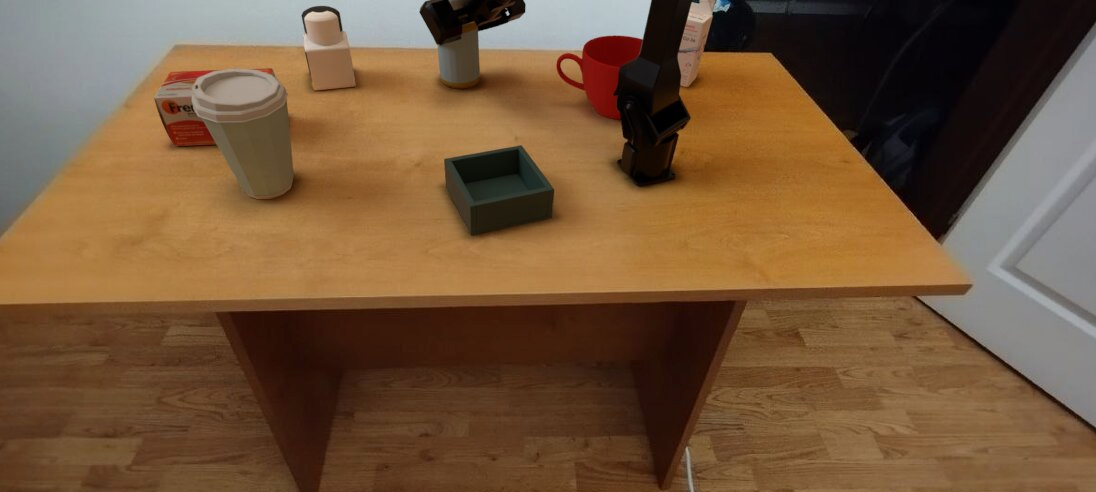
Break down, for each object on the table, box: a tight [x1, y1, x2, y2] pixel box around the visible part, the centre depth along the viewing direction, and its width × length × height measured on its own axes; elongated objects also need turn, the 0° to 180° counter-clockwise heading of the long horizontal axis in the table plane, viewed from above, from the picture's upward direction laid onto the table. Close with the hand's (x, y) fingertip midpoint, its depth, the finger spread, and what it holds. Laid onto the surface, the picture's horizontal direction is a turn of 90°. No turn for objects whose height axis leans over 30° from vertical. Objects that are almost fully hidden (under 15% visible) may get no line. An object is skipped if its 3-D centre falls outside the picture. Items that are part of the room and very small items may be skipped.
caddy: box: [443, 144, 555, 236], centre depth 76 cm, size 11×11×4 cm
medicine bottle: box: [301, 5, 356, 91], centre depth 97 cm, size 7×7×12 cm
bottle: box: [436, 0, 481, 90], centre depth 98 cm, size 7×7×15 cm
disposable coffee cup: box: [192, 67, 295, 200], centre depth 73 cm, size 11×11×15 cm
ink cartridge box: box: [678, 0, 717, 88], centre depth 103 cm, size 9×5×15 cm, turn 58°
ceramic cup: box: [555, 35, 643, 120], centre depth 94 cm, size 13×17×10 cm
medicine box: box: [153, 67, 276, 147], centre depth 85 cm, size 15×8×8 cm, turn 99°
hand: (452, 36), depth 99 cm, fingers closed on bottle, 7 cm apart
